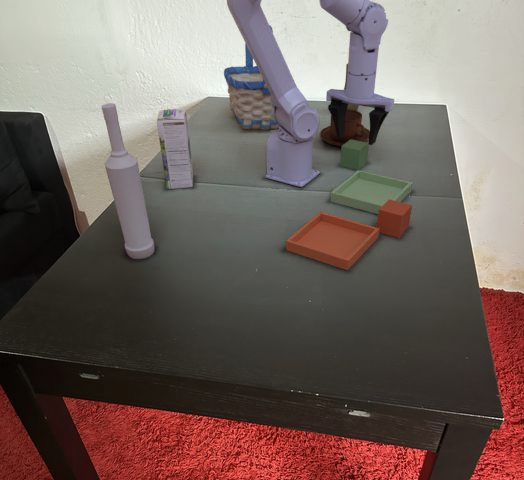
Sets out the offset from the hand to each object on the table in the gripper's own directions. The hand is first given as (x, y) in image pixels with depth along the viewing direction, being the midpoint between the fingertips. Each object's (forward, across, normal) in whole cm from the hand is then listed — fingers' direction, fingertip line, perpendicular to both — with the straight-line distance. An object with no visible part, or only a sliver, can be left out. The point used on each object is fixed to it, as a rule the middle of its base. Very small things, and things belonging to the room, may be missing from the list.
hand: (356, 139), depth 114 cm
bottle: (+6, +16, +52) cm, 55 cm away
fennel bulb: (+6, +16, -29) cm, 34 cm away
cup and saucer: (+6, +8, -11) cm, 15 cm away
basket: (+6, +34, -12) cm, 36 cm away
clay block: (+6, -19, +22) cm, 30 cm away
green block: (+6, 0, 0) cm, 6 cm away
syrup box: (+6, +28, +27) cm, 39 cm away
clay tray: (+5, -12, +32) cm, 35 cm away
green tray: (+6, -10, +12) cm, 17 cm away
